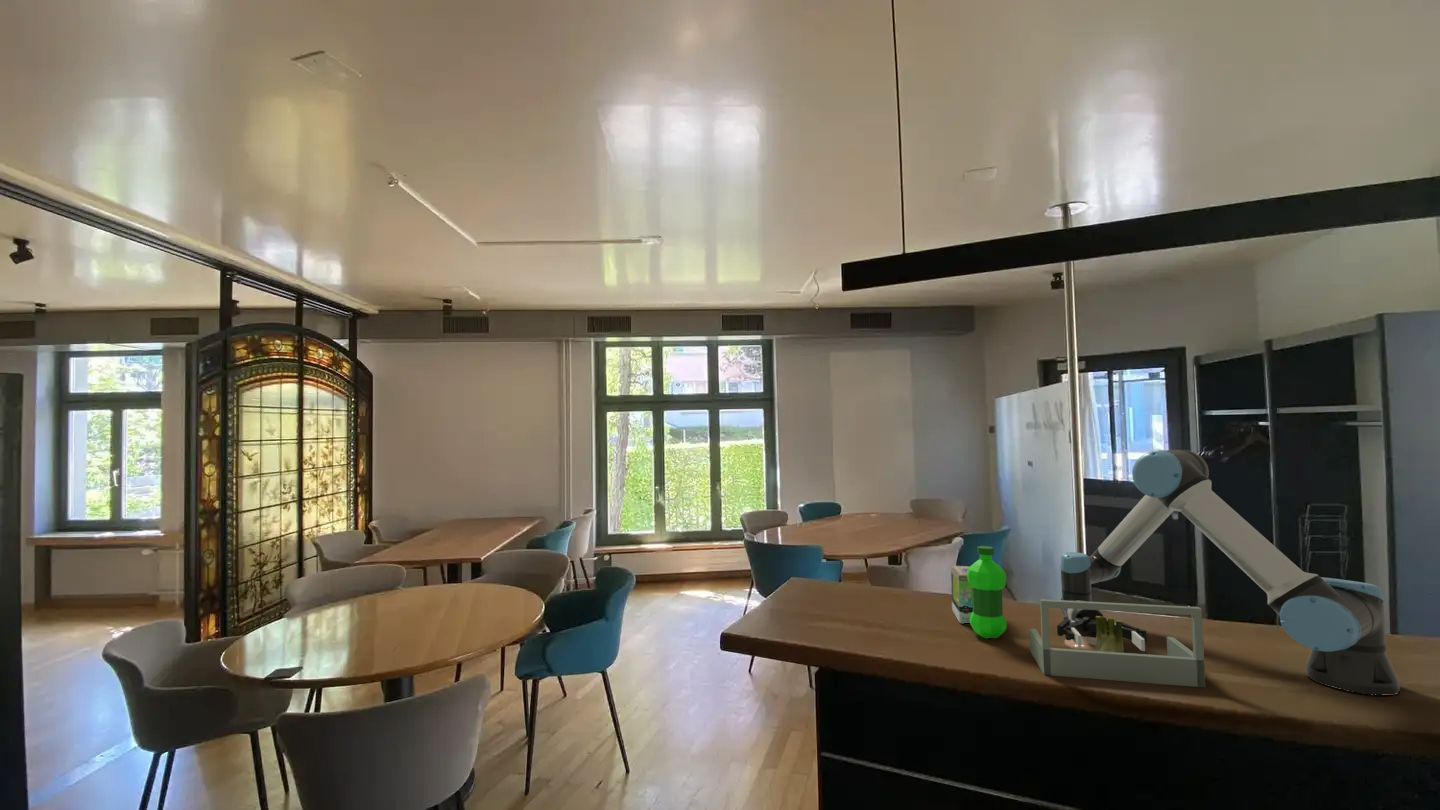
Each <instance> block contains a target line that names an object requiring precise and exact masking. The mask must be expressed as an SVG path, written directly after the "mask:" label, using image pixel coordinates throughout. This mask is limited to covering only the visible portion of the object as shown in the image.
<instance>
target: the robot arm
mask: <svg viewBox="0 0 1440 810" xmlns="http://www.w3.org/2000/svg"><path fill="white" fill-rule="evenodd" d="M1209 472H1210V471H1209V466H1208V464H1207V462H1206V461H1205V459H1204V458H1202V457H1201V455H1199V454H1198V453H1196V452H1194V451H1191V450H1188V449H1180V448H1178V449H1176V448H1175V449H1168V450H1164V449H1163V450H1162V449H1156V450H1152V451H1150V452H1147V453H1144V454H1142V455H1141V456H1140V457H1138V458H1137V460H1136V461H1135V462H1134V464H1133V467H1132V473H1131V474H1132V475H1131V478H1132V481H1133V483H1134V485H1135V487H1136V488H1137V490H1139V492H1141V493H1142V494H1144V496H1143V497H1142V498H1141V499H1140V500H1139V501H1138V503H1137V504H1136V505H1134V507H1133V508H1132V509H1131V510H1130V512H1128V513H1127V515H1126V516H1125V517H1124V518H1123V519H1122V521H1121V522H1119V523H1118V525H1117V526H1116V527H1115V528H1114V529H1113V531H1111V532H1110V534H1109V535H1108V536H1107V537H1106V538H1105V539H1104V540H1103V542H1102V543H1101V544H1100V545H1099V546H1098V547H1097V549H1096V550H1095V551H1094V552H1093V553H1092V554H1091V555H1090V556H1089V555H1088V554H1086V553H1083V552H1075V551H1074V552H1073V551H1072V552H1063V553H1062V554H1061V555H1060V564H1059V567H1060V581H1061V582H1060V583H1061V596H1060V597H1059V599H1058V600H1066V601H1086V602H1092V584H1097V583H1100V582H1106V581H1108V582H1109V581H1111V580H1113V579H1114V578H1117V577H1118V576H1119V575H1120V573H1121V571H1122V566H1123V565H1124V564H1125V563H1126V562H1127V561H1128V560H1129V559H1130V558H1131V557H1132V555H1134V553H1135V552H1136V551H1137V550H1138V549H1139V548H1140V547H1141V546H1142V545H1143V544H1144V543H1145V542H1146V541H1147V539H1148V538H1150V536H1152V535H1153V533H1154V532H1156V530H1157V529H1158V528H1159V527H1160V526H1161V525H1162V524H1163V523H1164V522H1165V520H1166V519H1168V517H1170V515H1172V513H1174V512H1180V513H1181V514H1183V515H1184V517H1186V519H1187V520H1189V521H1190V522H1191V523H1192V524H1193V525H1194V526H1195V527H1196V528H1197V529H1198V530H1199V531H1201V533H1203V535H1205V537H1206V538H1208V539H1209V541H1211V542H1212V543H1213V544H1214V545H1215V546H1216V547H1218V549H1219V550H1220V551H1221V552H1222V553H1224V554H1225V555H1226V557H1228V558H1229V559H1230V560H1231V561H1232V562H1233V563H1234V564H1235V565H1236V566H1237V567H1238V568H1239V569H1240V570H1241V571H1242V572H1243V573H1245V574H1246V575H1247V577H1249V578H1250V579H1251V580H1252V581H1253V582H1254V583H1255V584H1256V585H1257V586H1258V587H1259V588H1260V589H1262V590H1263V592H1265V593H1266V597H1267V605H1268V606H1269V607H1270V608H1271V609H1272V610H1273V611H1274V612H1275V613H1276V614H1277V615H1278V616H1279V619H1280V625H1281V626H1282V629H1283V630H1284V632H1285V633H1286V634H1287V635H1288V637H1290V638H1291V639H1292V640H1294V641H1295V642H1296V643H1298V644H1300V645H1301V646H1304V647H1306V648H1308V649H1311V650H1310V652H1309V655H1308V657H1307V660H1306V663H1305V667H1304V668H1305V675H1306V674H1307V676H1309V677H1310V678H1312V679H1314V680H1316V681H1318V682H1321V683H1323V684H1327V685H1330V686H1334V687H1337V688H1341V689H1345V690H1349V691H1353V692H1358V693H1364V694H1363V695H1365V694H1373V695H1372V696H1374V695H1375V694H1376V695H1382V694H1395V693H1398V692H1399V691H1400V690H1401V689H1400V687H1401V686H1400V685H1401V684H1400V681H1399V678H1398V676H1397V675H1396V671H1395V670H1394V668H1393V665H1392V663H1391V661H1390V660H1389V657H1388V655H1387V650H1386V649H1387V647H1386V632H1385V631H1386V629H1385V626H1386V625H1385V612H1384V603H1385V599H1384V597H1383V591H1382V589H1381V587H1380V586H1378V585H1376V584H1372V583H1368V582H1367V583H1366V582H1361V581H1355V580H1350V579H1348V580H1346V579H1341V578H1332V577H1321V576H1320V575H1319V574H1317V573H1311V572H1306V571H1303V570H1302V569H1301V568H1300V567H1298V566H1297V565H1296V564H1295V563H1294V562H1293V561H1292V560H1290V558H1289V557H1288V556H1286V555H1285V554H1284V553H1283V552H1282V551H1281V550H1279V548H1277V547H1276V546H1275V545H1274V544H1273V543H1271V542H1270V541H1269V540H1268V539H1267V538H1266V537H1265V536H1264V535H1263V534H1262V533H1260V532H1259V530H1257V529H1256V528H1255V527H1254V526H1252V525H1251V524H1250V523H1249V522H1248V521H1247V520H1246V519H1244V518H1243V517H1242V516H1241V515H1240V514H1239V513H1238V512H1237V511H1236V510H1235V509H1233V508H1232V507H1231V506H1230V505H1229V504H1228V503H1226V501H1224V500H1223V499H1222V498H1221V497H1220V496H1219V495H1217V494H1216V492H1214V491H1213V490H1212V480H1211V479H1210V478H1209V475H1210V473H1209ZM1060 610H1061V612H1062V614H1063V615H1064V617H1063V620H1062V621H1060V622H1059V623H1058V624H1057V626H1056V629H1057V630H1056V632H1057V634H1056V635H1057V636H1059V637H1063V636H1065V639H1066V640H1071V639H1073V641H1074V642H1075V643H1076V644H1077V646H1078V647H1082V640H1081V636H1082V635H1086V636H1088V637H1092V636H1093V637H1094V636H1097V627H1096V618H1095V617H1096V616H1101V618H1102V617H1105V616H1104V615H1103V613H1102V612H1101V610H1086V609H1067V608H1060ZM1114 624H1115V629H1116V621H1114ZM1107 628H1108V634H1109V627H1108V620H1107ZM1147 632H1148V631H1146V630H1144V629H1142V628H1139V627H1136V626H1133V625H1131V624H1128V623H1125V622H1123V621H1122V638H1123V639H1126V640H1130V641H1131V643H1132V644H1133V645H1134V646H1135V647H1137V648H1138V649H1139V650H1140V651H1141V652H1145V651H1146V644H1145V643H1146V642H1148V635H1147ZM1307 676H1306V677H1307ZM1310 678H1309V679H1310ZM1318 682H1317V683H1318ZM1323 684H1322V685H1323ZM1353 692H1352V693H1353ZM1400 692H1401V691H1400ZM1358 693H1357V694H1358Z"/></svg>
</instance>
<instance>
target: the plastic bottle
mask: <svg viewBox="0 0 1440 810" xmlns="http://www.w3.org/2000/svg"><path fill="white" fill-rule="evenodd" d="M994 553H995V552H994V547H993V546H991V545H990V546H987V545H979V546H977V554H978V555H979V558H978V560H976V561H975V562H973V564H971V565H970V567H969V568H968V571H967V579H968V582H969V584H970V585H971V586H972V599H973V612H972V613H971V616H970V624H969V625H970V626H971V628H972V629H973V632H975V633H976V634H977V635H978V636H979V635H980V636H982V637H981V638H983V637H985V638H984V639H988V638H996V639H998V638H999V637H1000V636H1002V635H1003V634H1004V633H1005V632H1006V630H1007V628H1008V623H1007V622H1008V621H1007V620H1006V618H1005V616H1004V612H1003V608H1004V607H1003V588H1005V586H1006V585H1007V575H1006V572H1005V570H1004V569H1003V568H1002V567H1001V566H1000V565H999V564H997V562H995V561H994V560H993V555H994ZM980 636H979V637H980ZM997 637H998V638H997Z"/></svg>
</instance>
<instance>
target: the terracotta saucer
mask: <svg viewBox="0 0 1440 810" xmlns="http://www.w3.org/2000/svg"><path fill="white" fill-rule="evenodd" d="M1081 640H1082V647H1078V646H1077V644H1076V643H1075V642H1074V641H1073V639H1071V640H1066V638H1065V639H1064V646H1065V647H1066V648H1067V649H1074V650H1089V651H1095V643H1096V637H1094V636H1093V637H1092V636H1082V635H1081Z"/></svg>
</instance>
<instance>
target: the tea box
mask: <svg viewBox="0 0 1440 810" xmlns="http://www.w3.org/2000/svg"><path fill="white" fill-rule="evenodd" d="M970 566H971V565H970ZM970 566H967V565H951V566H950V567H951V569H950V570H951V571H950V573H951V574H950V577H951V579H950V580H951V611H952V612H953V614H954V615H955V617H956V619H957V620H958V622H959V623H960V624H964V623H970V616H971V613H972V612H973V599H972V586H971V585H970V584H969V582H968V579H967V571H968V568H969V567H970Z"/></svg>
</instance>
